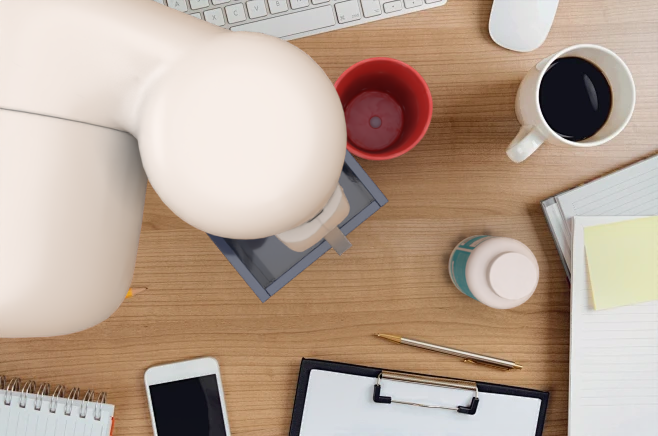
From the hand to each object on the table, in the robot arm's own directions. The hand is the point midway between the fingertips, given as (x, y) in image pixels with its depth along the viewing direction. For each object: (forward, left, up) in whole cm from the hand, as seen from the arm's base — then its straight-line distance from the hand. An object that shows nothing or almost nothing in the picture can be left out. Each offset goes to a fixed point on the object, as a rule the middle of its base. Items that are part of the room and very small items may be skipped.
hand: (291, 181), depth 51 cm
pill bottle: (+20, +11, -22) cm, 31 cm away
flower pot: (-1, +12, -22) cm, 25 cm away
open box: (0, -1, -2) cm, 2 cm away
